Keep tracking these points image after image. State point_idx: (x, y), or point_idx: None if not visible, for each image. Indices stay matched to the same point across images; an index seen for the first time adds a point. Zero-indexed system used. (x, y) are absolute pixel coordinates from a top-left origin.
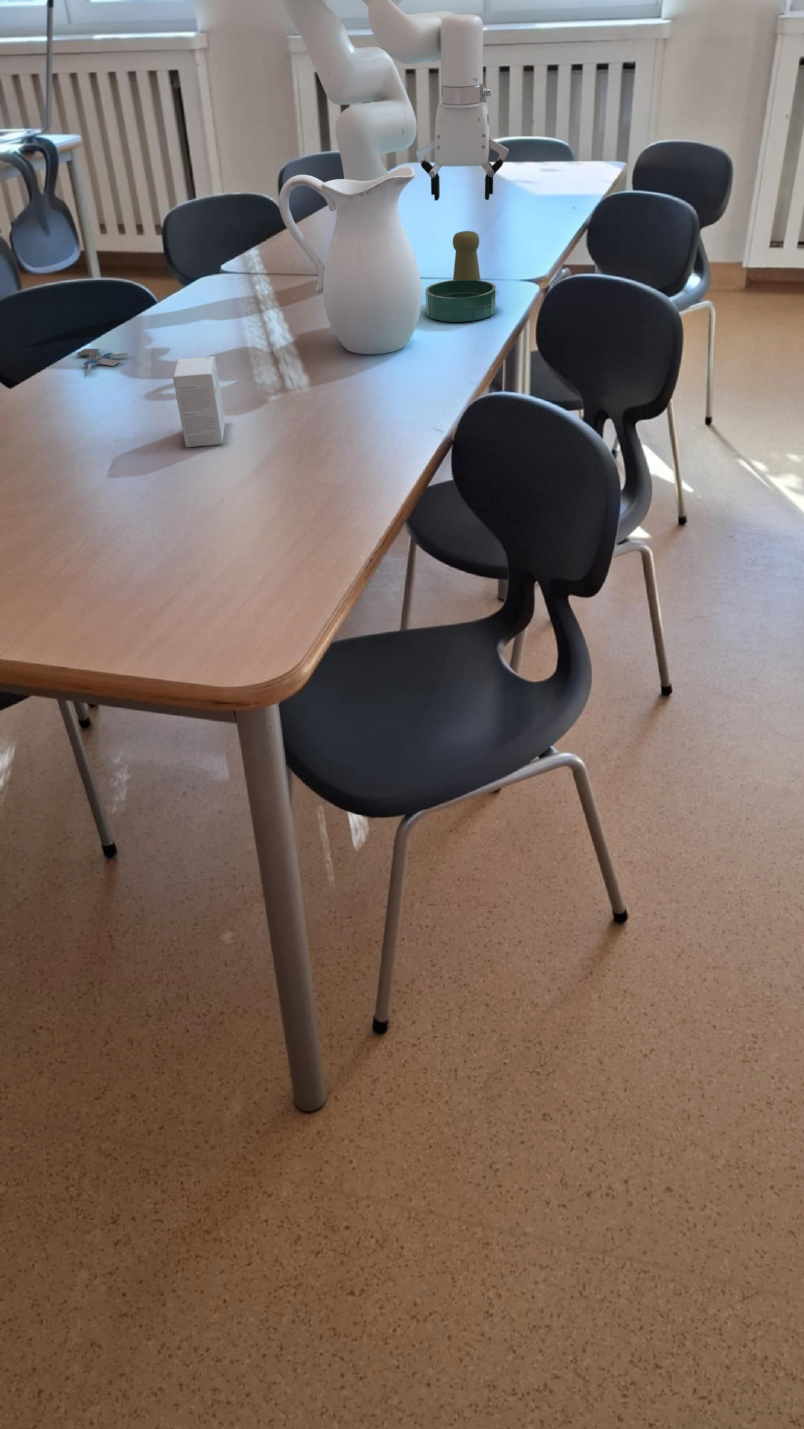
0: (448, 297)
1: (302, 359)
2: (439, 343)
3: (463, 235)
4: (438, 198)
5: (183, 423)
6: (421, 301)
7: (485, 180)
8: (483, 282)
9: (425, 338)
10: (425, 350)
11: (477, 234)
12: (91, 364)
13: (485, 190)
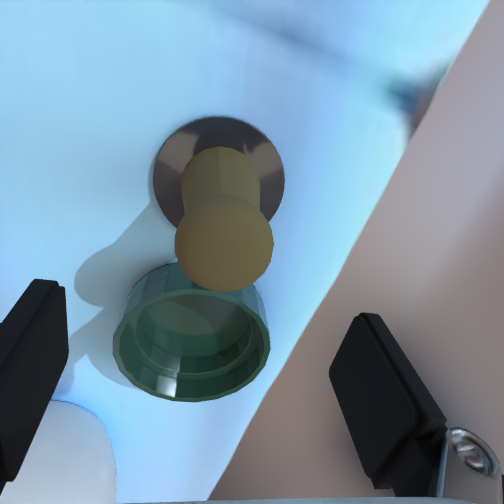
0: (166, 397)
1: None
2: (155, 430)
3: (213, 287)
4: (66, 345)
5: None
6: (115, 496)
7: (365, 464)
8: (250, 314)
9: (132, 413)
10: (135, 448)
11: (270, 252)
12: None
13: (344, 411)
